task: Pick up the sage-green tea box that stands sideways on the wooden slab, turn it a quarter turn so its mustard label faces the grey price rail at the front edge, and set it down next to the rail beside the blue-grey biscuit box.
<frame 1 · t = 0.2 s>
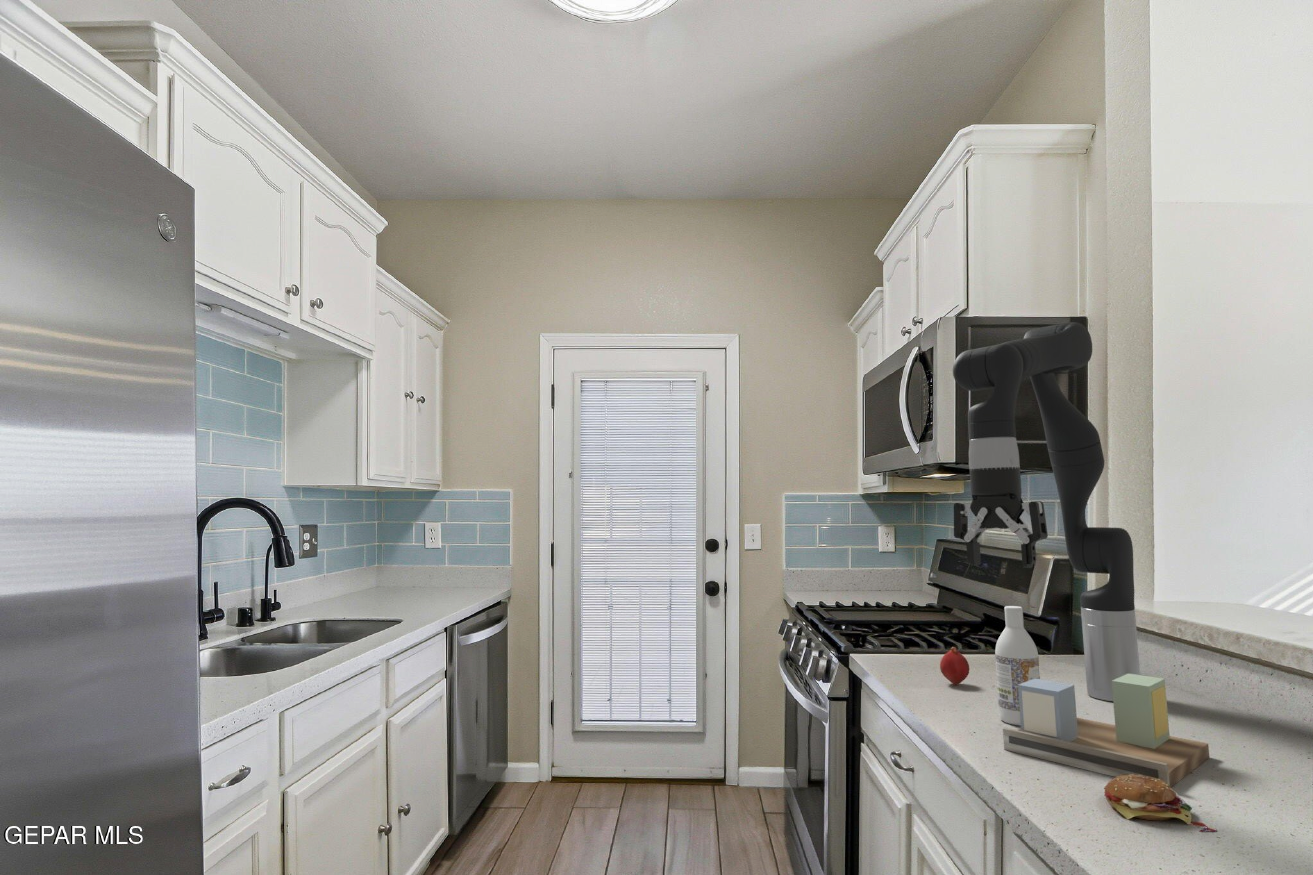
hand: (1001, 566, 117), 29 cm above the worktop, tool pointing down, fingers open, 8 cm apart
onion: (955, 685, 155), on the worktop
tea box: (1143, 739, 111), point 2 cm above the worktop, touching wooden slab
hamburger: (1162, 820, 90), on the worktop
wooden slab: (1105, 752, 112), on the worktop
bath foam: (1021, 722, 129), on the worktop
biscuit box: (1049, 737, 114), point 2 cm above the worktop, touching wooden slab
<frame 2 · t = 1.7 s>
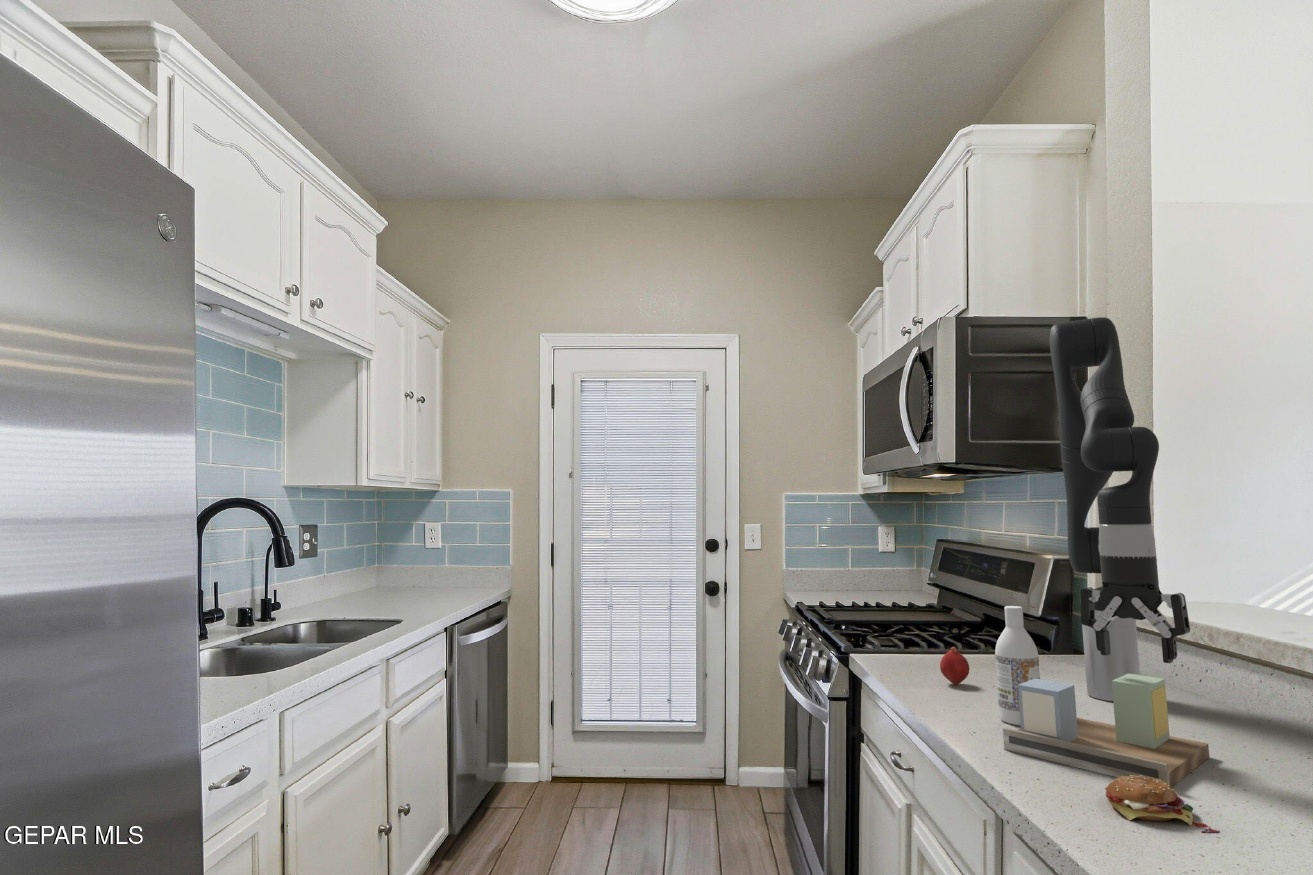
hand: (1136, 658, 113), 14 cm above the worktop, tool pointing down, fingers open, 8 cm apart
nothing on the worktop moved.
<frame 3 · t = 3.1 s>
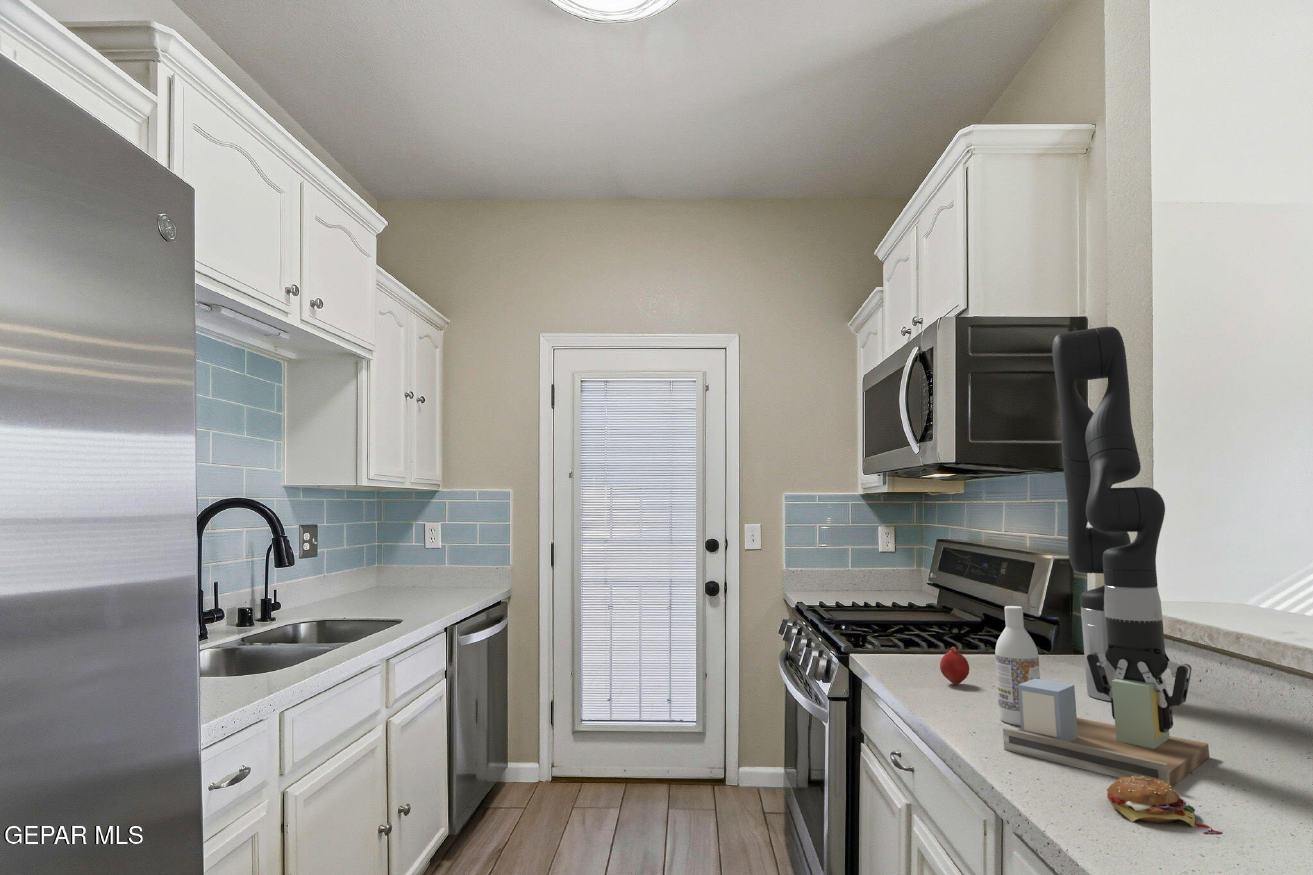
hand: (1142, 726, 112), 4 cm above the worktop, tool pointing down, fingers closed on tea box, 5 cm apart
tea box: (1143, 739, 111), point 2 cm above the worktop, touching gripper, wooden slab
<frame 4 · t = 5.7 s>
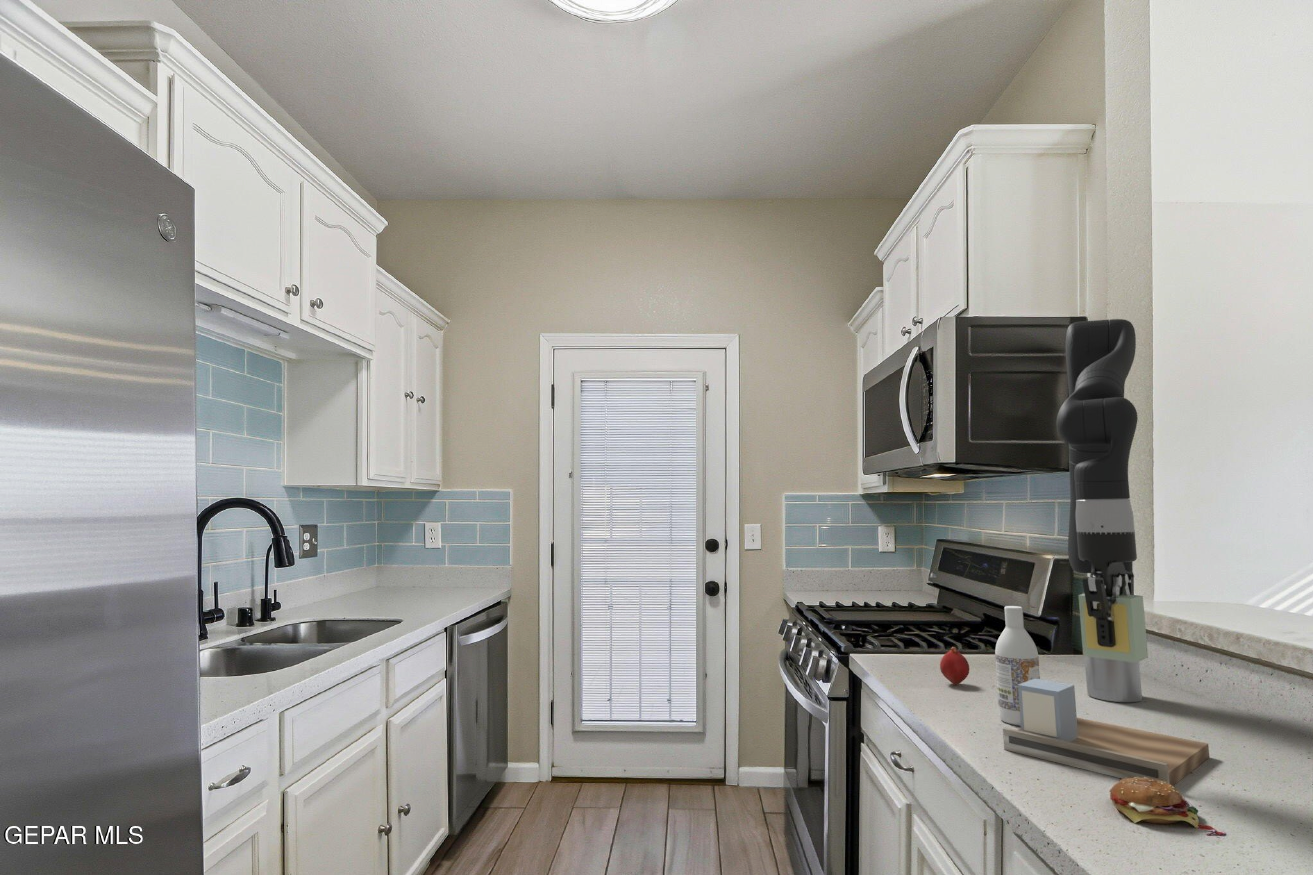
hand: (1114, 643, 108), 18 cm above the worktop, tool pointing down, fingers closed on tea box, 5 cm apart
tea box: (1115, 656, 108), point 16 cm above the worktop, touching gripper
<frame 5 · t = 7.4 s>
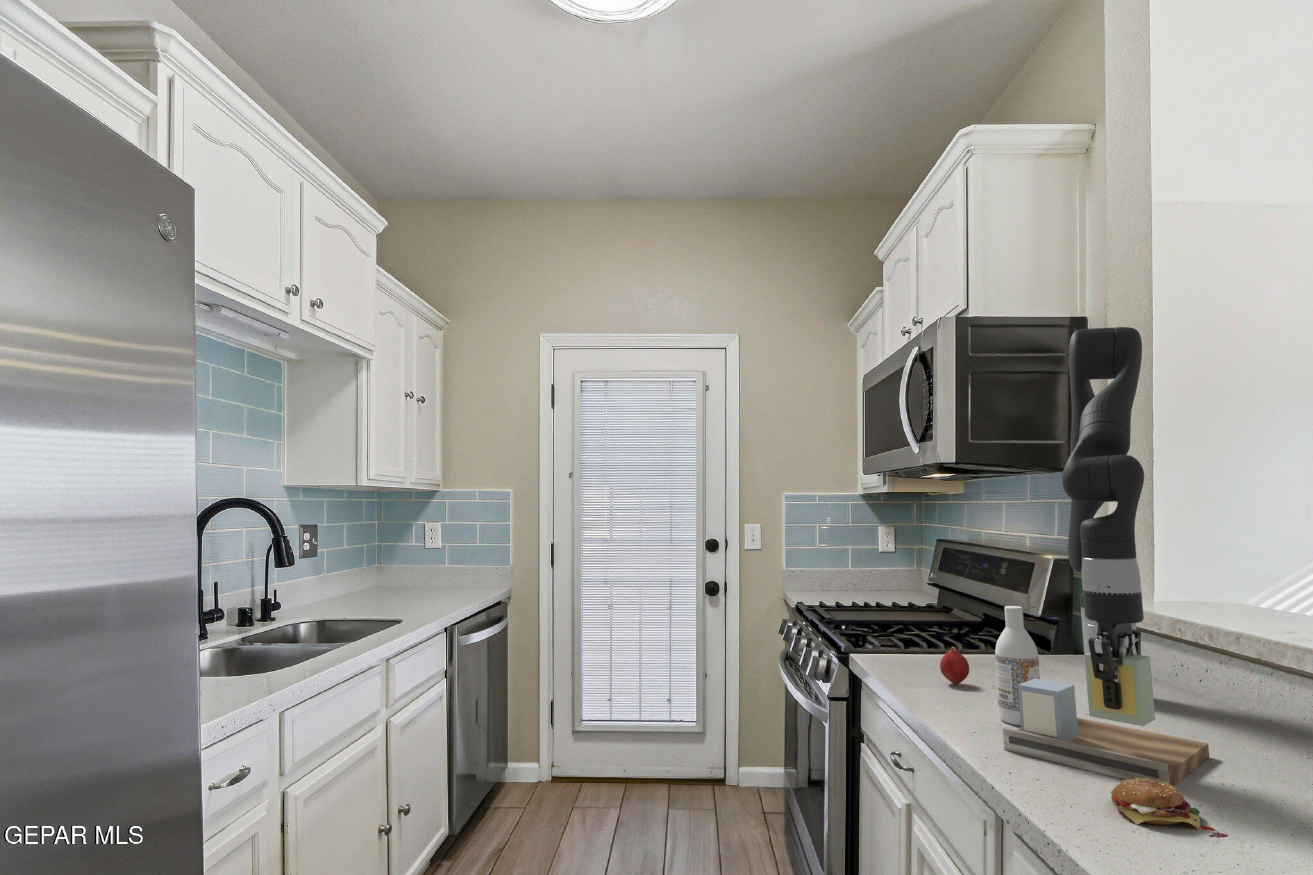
hand: (1120, 704, 107), 9 cm above the worktop, tool pointing down, fingers closed on tea box, 5 cm apart
tea box: (1122, 717, 107), point 7 cm above the worktop, touching gripper
when the fingers open (5 cm above the worktop, at t = 8.6 s): tea box stays where it is, resting on wooden slab.
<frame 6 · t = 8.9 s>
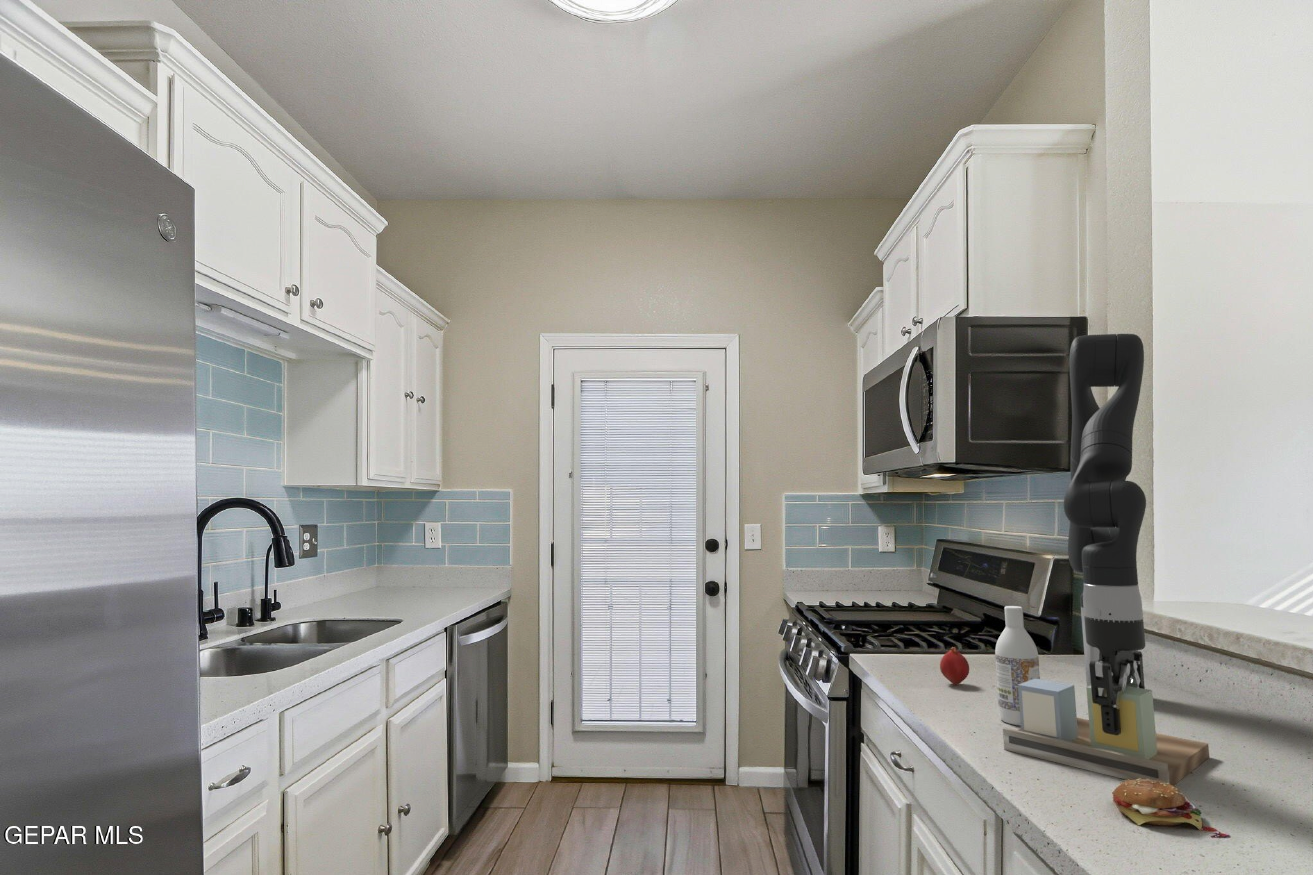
hand: (1122, 728, 107), 5 cm above the worktop, tool pointing down, fingers open, 7 cm apart
tea box: (1123, 751, 106), point 2 cm above the worktop, touching wooden slab
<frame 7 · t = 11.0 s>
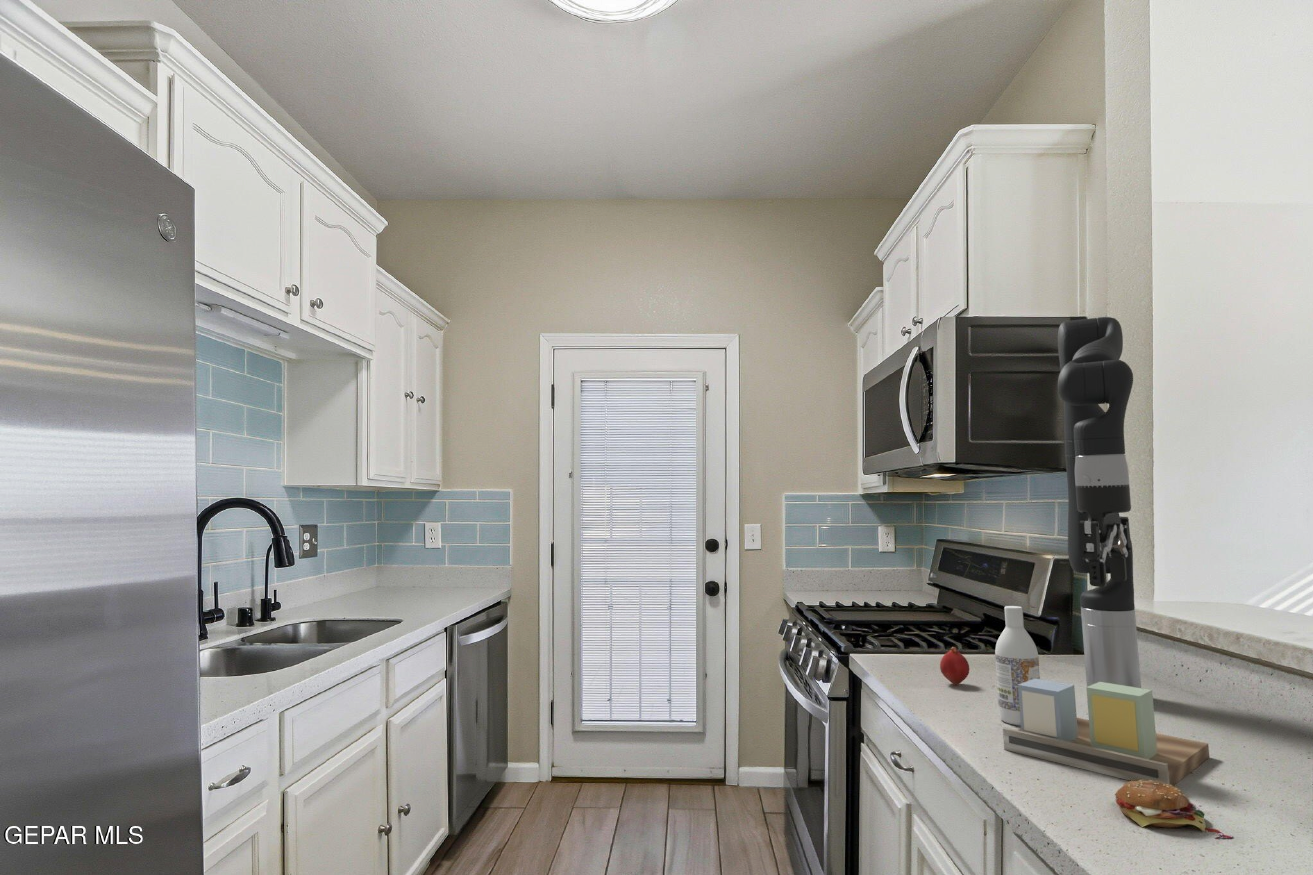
hand: (1108, 583, 117), 25 cm above the worktop, tool pointing down, fingers open, 8 cm apart
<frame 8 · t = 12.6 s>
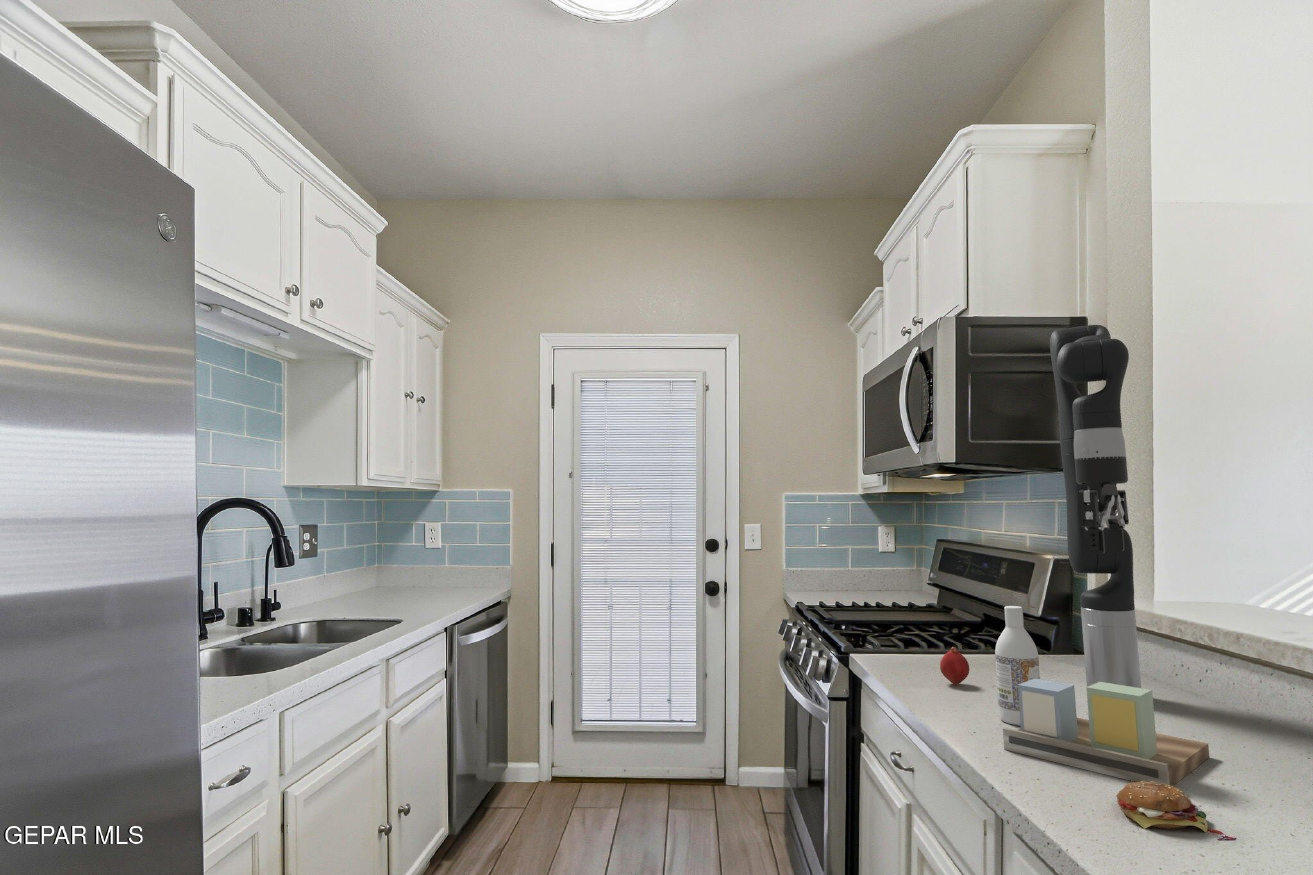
hand: (1107, 552, 122), 30 cm above the worktop, tool pointing down, fingers open, 8 cm apart
at the end: tea box inside the target area (0.2 cm from its centre), point 2.0 cm above the worktop; tea box tilted 0°; the gripper is holding nothing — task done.
